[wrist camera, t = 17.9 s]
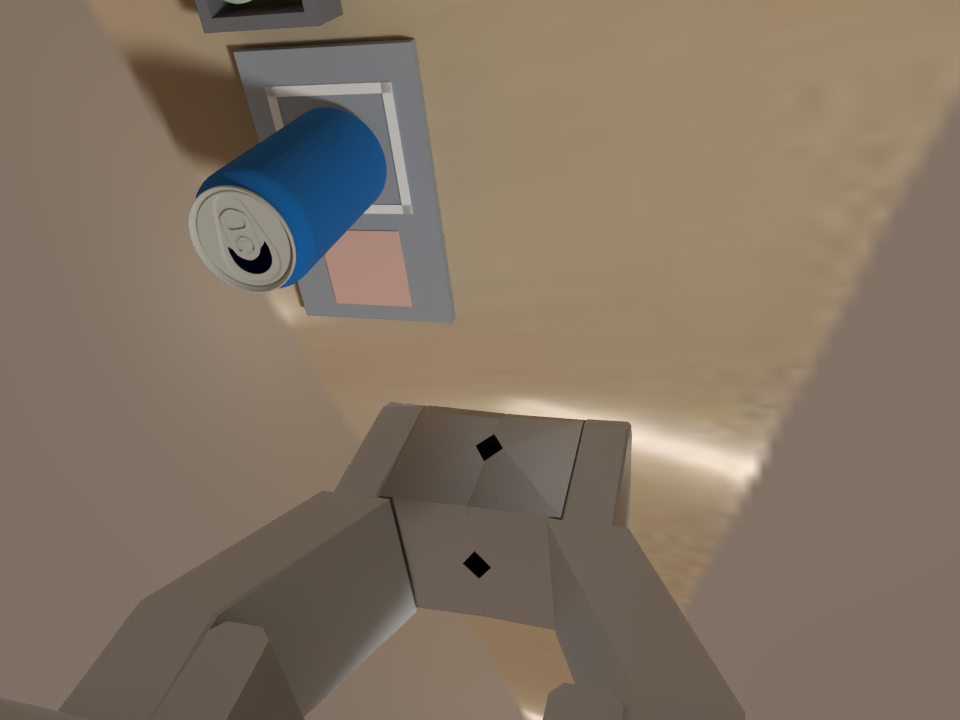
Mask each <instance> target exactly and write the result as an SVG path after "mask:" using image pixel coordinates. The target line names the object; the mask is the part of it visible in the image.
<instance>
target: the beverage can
mask: <svg viewBox="0 0 960 720" xmlns="http://www.w3.org/2000/svg"><path fill="white" fill-rule="evenodd" d="M386 177H387V164H386V158H385V154H384V151H383V149H382V146H381V144H380V142H379V140H378V139H377V137H376V136H375V134H374V133H373V131H372V130H371V129H370V128H369V127H368V126H367V125H366V124H365V123H364V122H363V121H362V120H360V119H359V118H358V117H356V116H354V115H353V114H351V113H349V112H347V111H344V110H341V109H338V108H332V107H321V108H315V109H312V110H309V111H307V112H305V113H304V114H302V115H301V116H299V117H298V118H296V119H295V120H293V121H292V122H290V123H289V124H287V125H286V126H284V127H283V128H281V129H280V130H278V131H277V132H275V133H274V134H272V135H271V136H269V137H268V138H266V139H265V140H263V141H262V142H260V143H259V144H257V145H256V146H254V147H253V148H251V149H250V150H248V151H247V152H245V153H244V154H242V155H241V156H239V157H238V158H236V159H235V160H233V161H232V162H230V163H229V164H227V165H226V166H224V167H223V168H221V169H219V170H218V171H216V172H215V173H214V174H212V175H211V176H209V177H208V178H207V179H206V180H205V181H204V182H203V184H202V185H201V187H200V189H199V191H198V193H197V195H196V199H195V201H194V202H193V204H192V206H191V208H190V211H189V216H188V229H189V235H190V238H191V241H192V244H193V246H194V249H195V250H196V252H197V254H198V256H199V257H200V259H201V260H202V261H203V263H204V264H205V265H206V267H207V268H208V269H209V270H210V271H211V272H212V273H213V274H214V275H216V276H217V277H218V278H219V279H221V280H222V281H223V282H225V283H227V284H229V285H230V286H232V287H234V288H237V289H239V290H242V291H245V292H250V293H267V292H271V291H274V290H276V289H278V288H283V287H287V286H290V285H292V284H294V283H296V282H298V281H299V280H300V279H302V278H303V277H304V276H305V275H306V274H307V273H308V271H309V270H310V269H311V268H312V267H313V266H314V265H315V264H316V263H317V262H318V261H319V260H320V259H321V258H322V257H323V256H324V255H325V254H326V253H327V251H328V250H329V249H330V248H331V247H332V246H333V245H334V244H335V243H336V242H337V241H338V240H339V239H340V238H341V237H342V236H343V235H344V234H345V232H346V231H347V230H348V229H349V228H350V227H351V226H352V225H353V224H354V223H355V222H356V221H357V220H358V219H359V218H360V217H361V216H362V215H363V214H364V212H365V211H366V210H367V209H368V208H369V207H370V206H371V205H372V204H373V203H374V202H375V201H376V200H377V199H378V197H379V196H380V194H381V193H382V191H383V188H384V186H385V182H386Z"/></svg>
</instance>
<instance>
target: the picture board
mask: <svg viewBox="0 0 960 720" xmlns="http://www.w3.org/2000/svg"><path fill="white" fill-rule="evenodd" d="M233 53H234V56H235V60H236V64H237V67H238V71H239V74H240V78H241V81H242V85H243V89H244V92H245V96H246V99H247V103H248V107H249V110H250V114H251V117H252V121H253V124H254V128H255V132H256V135H257V139H258V142H259V143H260V142H262V141H263V140H265V139H266V138H268V137H269V136H271V135H272V134H274V133H275V132H277V131H278V130H280V129H281V128H283V127H284V126H286V125H287V124H289V123H290V122H292V121H293V120H295V119H296V118H298V117H299V116H301V115H302V114H304V113H305V112H307V111H309V110H312V109H315V108H321V107H332V108H338V109H341V110H344V111H347V112H349V113H351V114H353V115H354V116H356V117H358V118H359V119H360V120H362V121H363V122H364V123H365V124H366V125H367V126H368V127H369V128H370V129H371V130H372V131H373V133H374V134H375V136H376V137H377V139H378V140H379V142H380V144H381V146H382V149H383V151H384V154H385V158H386V164H387V177H386V182H385V186H384V188H383V191H382V193H381V194H380V196H379V197H378V199H377V200H376V201H375V202H374V203H373V204H372V205H371V206H370V207H369V208H368V209H367V210H366V211H365V212H364V214H363V215H362V216H361V217H360V218H359V219H358V220H357V221H356V222H355V223H354V224H353V225H352V226H351V227H350V228H349V229H348V230H347V231H346V232H345V234H344V235H343V236H342V237H341V238H340V239H339V240H338V241H337V242H336V243H335V244H334V245H333V246H332V247H331V248H330V249H329V250H328V251H327V253H326V254H325V255H324V256H323V257H322V258H321V259H320V260H319V261H318V262H317V263H316V264H315V265H314V266H313V267H312V268H311V269H310V270H309V271H308V273H307V274H306V275H305V276H304V277H303V278H302V279H300V280H299V281H298V285H299V289H300V292H301V296H302V299H303V303H304V307H305V310H306V314H307V315H312V316H331V317H350V318H369V319H388V320H406V321H425V322H444V323H452V322H453V320H454V318H455V313H454V306H453V299H452V292H451V285H450V278H449V271H448V264H447V258H446V251H445V244H444V237H443V230H442V223H441V216H440V209H439V202H438V196H437V189H436V182H435V175H434V168H433V161H432V154H431V147H430V141H429V134H428V127H427V120H426V113H425V106H424V99H423V92H422V85H421V79H420V72H419V65H418V58H417V51H416V44H415V39H404V40H386V41H369V42H351V43H334V44H316V45H298V46H281V47H263V48H246V49H239V50H237V51H235V52H233Z"/></svg>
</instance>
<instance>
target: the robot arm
mask: <svg viewBox="0 0 960 720" xmlns="http://www.w3.org/2000/svg"><path fill="white" fill-rule="evenodd" d="M631 445H632V431H631V425H630V423H629V422H622V421H606V420H590V419H587V420H577V419H564V418H551V417H538V416H526V415H513V414H503V413H494V412H485V411H475V410H466V409H457V408H448V407H438V406H423V405H414V404H404V403H395V402H391V403H389V404H388V405H386V406H385V407H383V408H382V410H381V411H380V413H379V415H378V417H377V418H376V420H375V422H374V423H373V425H372V427H371V429H370V430H369V432H368V434H367V435H366V437H365V439H364V441H363V442H362V444H361V446H360V447H359V449H358V451H357V453H356V454H355V456H354V458H353V459H352V461H351V463H350V465H349V466H348V468H347V470H346V471H345V473H344V475H343V477H342V478H341V480H340V482H339V483H338V485H337V487H336V489H335V491H334V492H328V491H321V492H320V493H318V494H316V495H315V496H313V497H312V498H310V499H308V500H306V501H305V502H303V503H302V504H300V505H298V506H297V507H295V508H293V509H291V510H290V511H288V512H287V513H285V514H283V515H282V516H280V517H278V518H277V519H275V520H273V521H272V522H270V523H268V524H267V525H265V526H264V527H262V528H260V529H258V530H257V531H255V532H253V533H252V534H250V535H249V536H247V537H245V538H243V539H242V540H240V541H239V542H237V543H235V544H234V545H232V546H230V547H229V548H227V549H225V550H224V551H222V552H220V553H219V554H217V555H216V556H214V557H212V558H211V559H209V560H207V561H205V562H204V563H202V564H201V565H199V566H197V567H196V568H194V569H192V570H191V571H189V572H187V573H186V574H184V575H182V576H181V577H179V578H177V579H176V580H174V581H172V582H171V583H169V584H167V585H166V586H164V587H163V588H161V589H159V590H158V591H156V592H154V593H152V594H151V595H149V596H148V597H146V598H144V599H143V600H141V601H140V602H139V603H138V605H137V606H136V607H135V609H134V610H133V611H132V612H131V614H130V615H129V617H128V618H127V619H126V620H125V622H124V623H123V625H122V626H121V627H120V629H119V630H118V631H117V633H116V634H115V635H114V637H113V638H112V639H111V641H110V642H109V643H108V645H107V646H106V647H105V649H104V650H103V651H102V653H101V654H100V655H99V657H98V658H97V659H96V661H95V662H94V663H93V665H92V666H91V667H90V669H89V670H88V671H87V673H86V674H85V675H84V677H83V678H82V679H81V681H80V682H79V683H78V685H77V686H76V687H75V689H74V690H73V692H72V693H71V694H70V695H69V697H68V698H67V699H66V701H65V702H64V703H63V705H62V706H61V707H60V709H59V710H58V711H56V710H51V709H47V708H43V707H39V706H35V705H30V704H26V703H22V702H18V701H13V700H9V699H5V698H1V697H0V720H305V719H304V717H305V716H306V715H307V714H308V713H309V712H310V711H311V710H312V709H313V708H315V707H316V706H317V705H318V704H319V703H320V702H321V701H322V700H323V699H324V698H325V697H326V696H327V695H328V694H329V693H330V692H332V691H333V690H334V689H335V688H336V687H337V686H338V685H339V684H340V683H341V682H342V681H343V680H344V679H345V678H346V677H348V676H349V675H350V674H351V673H352V672H353V671H354V670H355V669H356V668H357V667H358V666H359V665H360V664H361V663H362V662H363V661H365V660H366V659H367V658H368V657H369V656H370V655H371V654H372V653H373V652H374V651H375V650H376V649H377V648H378V647H379V646H380V645H382V644H383V643H384V642H385V641H386V640H387V639H388V638H389V637H390V636H391V635H392V634H393V633H394V632H395V631H396V630H398V628H400V627H401V626H402V625H403V624H404V623H405V622H406V621H407V620H408V619H409V618H410V617H411V616H412V615H414V614H415V613H416V612H417V611H416V607H418V608H426V609H433V610H440V611H448V612H456V613H463V614H470V615H477V616H486V617H490V618H495V619H500V620H506V621H511V622H516V623H521V624H527V625H532V626H537V627H542V628H548V629H553V630H555V631H556V636H557V638H558V641H559V643H560V646H561V649H562V651H563V654H564V656H565V659H566V661H567V664H568V667H569V669H570V672H571V674H572V677H573V679H574V682H575V684H570V683H563V684H562V685H560V686H559V687H557V688H556V689H554V690H553V691H551V692H550V693H549V694H548V698H547V703H546V708H545V712H544V717H543V720H745V711H744V710H743V708H742V706H741V705H740V703H739V702H738V700H737V699H736V697H735V695H734V694H733V692H732V691H731V689H730V688H729V686H728V684H727V683H726V681H725V680H724V678H723V676H722V675H721V673H720V672H719V670H718V669H717V667H716V665H715V664H714V662H713V661H712V659H711V658H710V656H709V655H708V653H707V651H706V650H705V648H704V647H703V645H702V643H701V642H700V640H699V639H698V637H697V635H696V634H695V632H694V631H693V629H692V628H691V626H690V624H689V623H688V621H687V620H686V618H685V617H684V615H683V613H682V612H681V610H680V609H679V607H678V606H677V604H676V602H675V601H674V599H673V598H672V596H671V594H670V593H669V591H668V590H667V588H666V587H665V585H664V583H663V582H662V580H661V579H660V577H659V576H658V574H657V572H656V571H655V569H654V568H653V566H652V565H651V563H650V561H649V560H648V558H647V557H646V555H645V554H644V552H643V550H642V549H641V547H640V546H639V544H638V542H637V541H636V539H635V538H634V536H633V535H632V533H631V531H630V530H629V514H630V495H631Z"/></svg>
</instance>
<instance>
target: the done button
mask: <svg viewBox="0 0 960 720" xmlns="http://www.w3.org/2000/svg"><path fill="white" fill-rule="evenodd" d="M224 1H226V2H229V3H234V4H241V3H246V2H249V1H251V0H224Z"/></svg>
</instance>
